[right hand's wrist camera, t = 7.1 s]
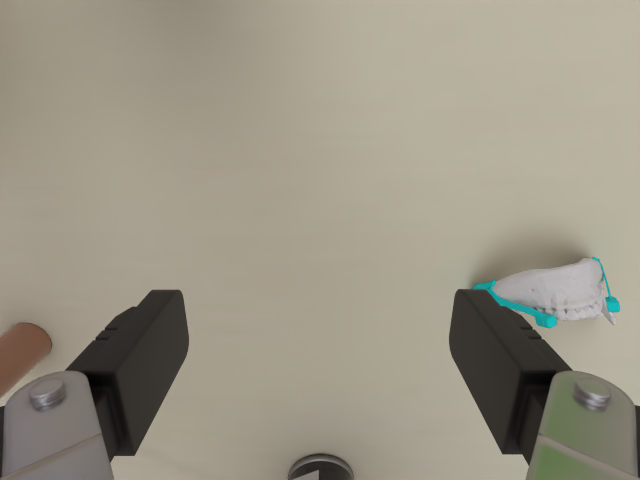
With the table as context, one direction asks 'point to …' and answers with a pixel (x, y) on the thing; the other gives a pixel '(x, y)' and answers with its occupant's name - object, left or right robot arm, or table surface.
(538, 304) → the anatomical model
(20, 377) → the bottle
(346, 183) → the table surface
